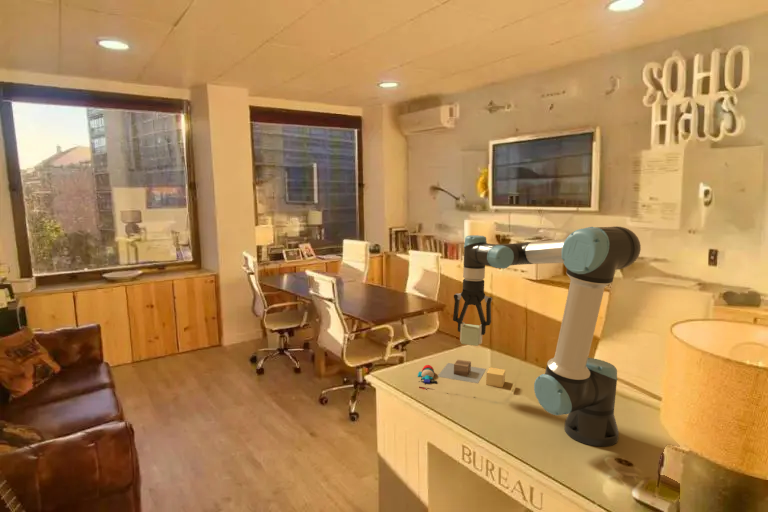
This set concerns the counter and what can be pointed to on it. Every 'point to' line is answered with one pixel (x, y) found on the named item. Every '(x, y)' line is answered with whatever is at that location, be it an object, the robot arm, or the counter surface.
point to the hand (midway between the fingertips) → (471, 341)
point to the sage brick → (470, 335)
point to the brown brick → (462, 367)
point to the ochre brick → (495, 377)
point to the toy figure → (427, 375)
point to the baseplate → (472, 376)
